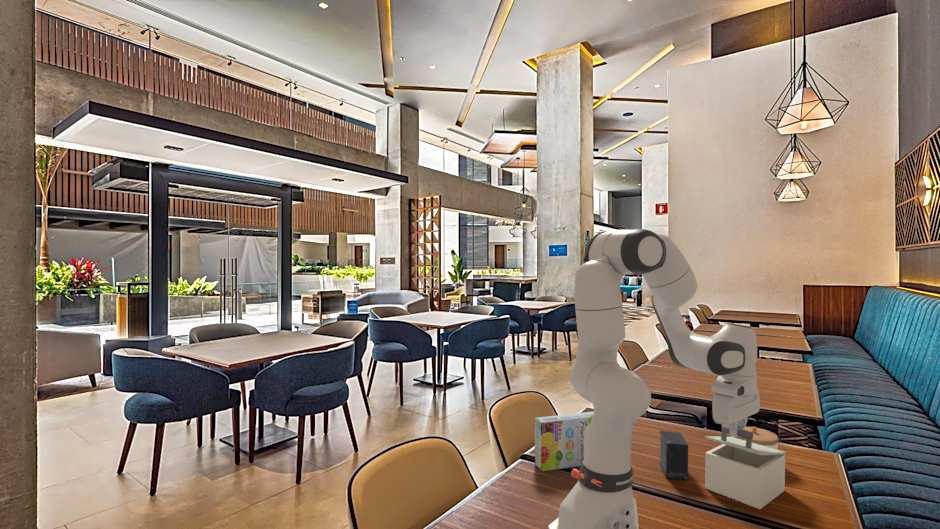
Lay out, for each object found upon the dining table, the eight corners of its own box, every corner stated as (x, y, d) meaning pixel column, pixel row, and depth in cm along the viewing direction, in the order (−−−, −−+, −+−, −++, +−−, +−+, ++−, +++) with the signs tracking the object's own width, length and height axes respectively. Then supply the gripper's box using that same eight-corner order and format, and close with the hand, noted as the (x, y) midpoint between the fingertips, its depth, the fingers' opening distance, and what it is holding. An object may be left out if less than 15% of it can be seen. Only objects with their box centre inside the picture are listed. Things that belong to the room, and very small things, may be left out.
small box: (689, 480, 138) (689, 444, 137) (665, 478, 139) (665, 443, 139) (681, 465, 148) (681, 431, 148) (658, 463, 149) (658, 430, 149)
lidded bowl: (783, 473, 142) (783, 436, 141) (735, 467, 146) (735, 432, 145) (771, 456, 154) (772, 422, 153) (728, 451, 158) (728, 418, 157)
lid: (761, 455, 121) (763, 436, 122) (704, 438, 133) (706, 420, 134) (785, 454, 131) (787, 436, 132) (731, 438, 142) (732, 422, 143)
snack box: (595, 456, 154) (594, 410, 154) (604, 464, 149) (604, 416, 149) (534, 464, 149) (533, 416, 149) (541, 472, 144) (541, 422, 143)
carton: (759, 509, 122) (760, 470, 122) (705, 488, 133) (705, 452, 133) (784, 490, 131) (785, 454, 131) (731, 472, 143) (731, 439, 142)
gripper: (742, 375, 138) (742, 423, 138) (707, 386, 125) (707, 439, 125) (766, 380, 133) (766, 429, 133) (732, 392, 120) (732, 446, 120)
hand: (737, 434), depth 129 cm, fingers open, 2 cm apart
